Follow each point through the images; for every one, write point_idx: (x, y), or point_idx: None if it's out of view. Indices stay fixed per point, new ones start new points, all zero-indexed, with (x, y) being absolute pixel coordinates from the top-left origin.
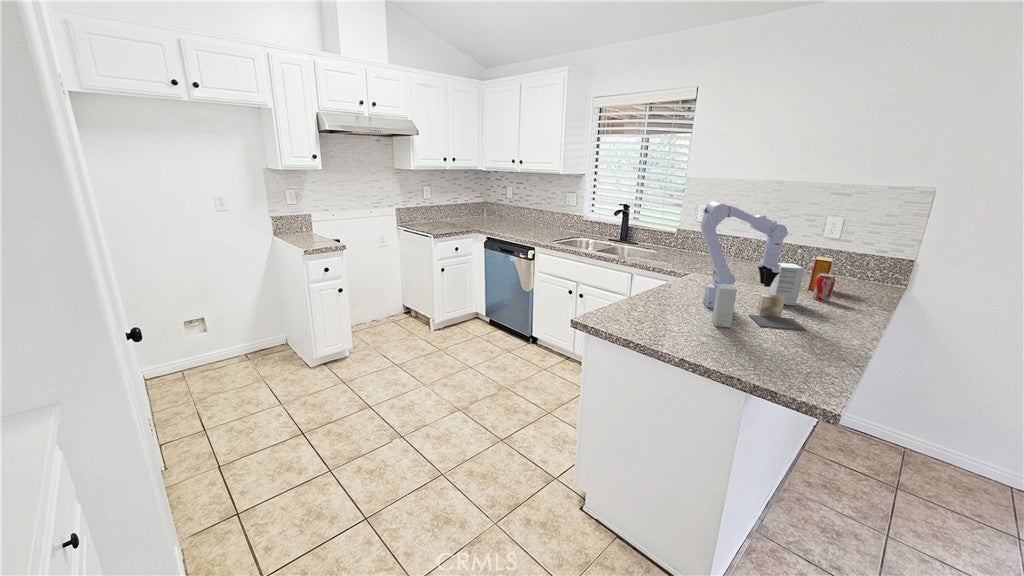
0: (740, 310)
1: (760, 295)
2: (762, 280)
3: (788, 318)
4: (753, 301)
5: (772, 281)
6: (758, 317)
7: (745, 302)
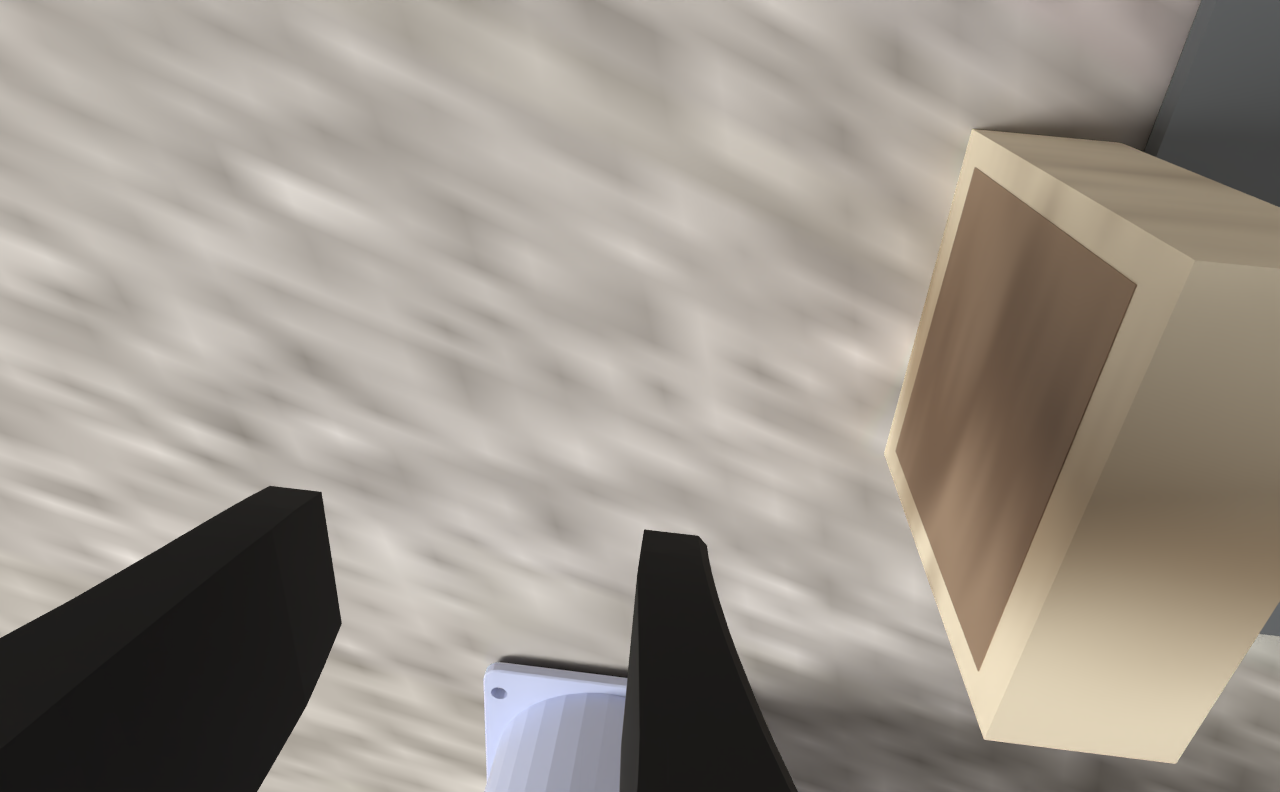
0: (747, 593)
1: (986, 714)
2: (277, 699)
3: (1242, 19)
4: (183, 202)
5: (751, 710)
6: None
7: (312, 370)
